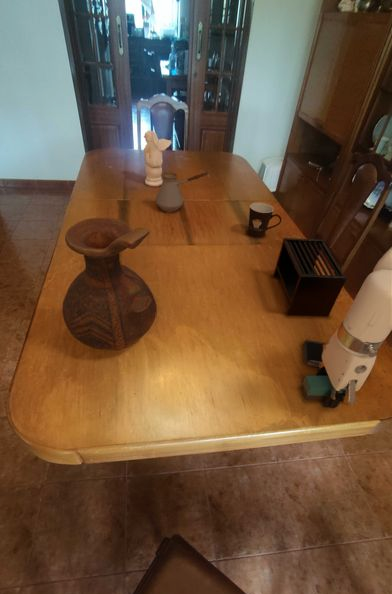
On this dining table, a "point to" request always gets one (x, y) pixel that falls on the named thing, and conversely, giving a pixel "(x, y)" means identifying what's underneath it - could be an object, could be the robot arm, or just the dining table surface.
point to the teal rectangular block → (317, 387)
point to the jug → (107, 287)
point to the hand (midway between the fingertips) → (324, 392)
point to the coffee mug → (260, 219)
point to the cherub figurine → (154, 158)
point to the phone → (313, 352)
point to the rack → (308, 277)
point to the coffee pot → (172, 191)
